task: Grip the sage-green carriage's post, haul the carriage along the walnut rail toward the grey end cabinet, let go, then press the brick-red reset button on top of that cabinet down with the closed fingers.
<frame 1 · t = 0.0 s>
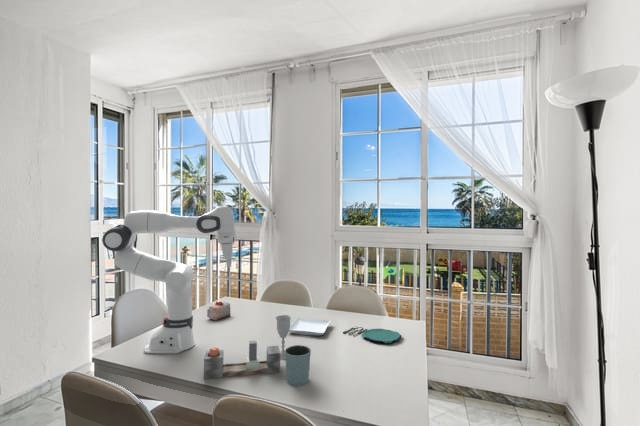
hand: (229, 265, 173), 39 cm above the table, tool pointing down, fingers open, 8 cm apart
cutlery set: (373, 336, 186), on the table
blue-grey cup: (297, 380, 136), on the table
food item: (219, 318, 214), on the table
reset button: (214, 354, 140), point 8 cm above the table, slide at 0.0 cm
carriage: (252, 354, 144), point 7 cm above the table, slide at 4.0 cm
chalice: (282, 357, 157), on the table
salad plate: (309, 330, 194), on the table
rail: (242, 371, 143), on the table
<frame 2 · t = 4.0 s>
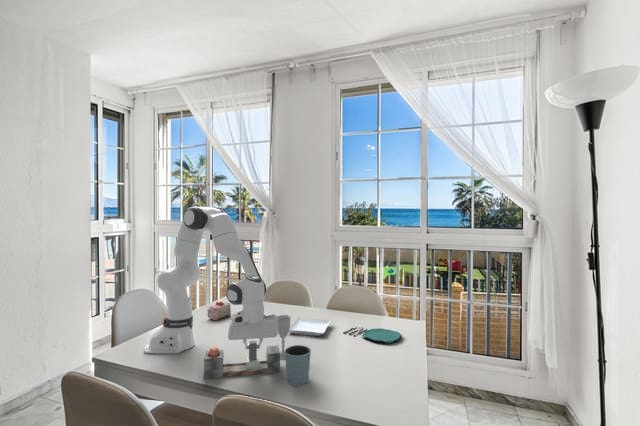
hand: (252, 348, 144), 9 cm above the table, tool pointing down, fingers closed on carriage, 3 cm apart
carriage: (252, 354, 144), point 7 cm above the table, slide at 4.0 cm, touching gripper
everything else where it was.
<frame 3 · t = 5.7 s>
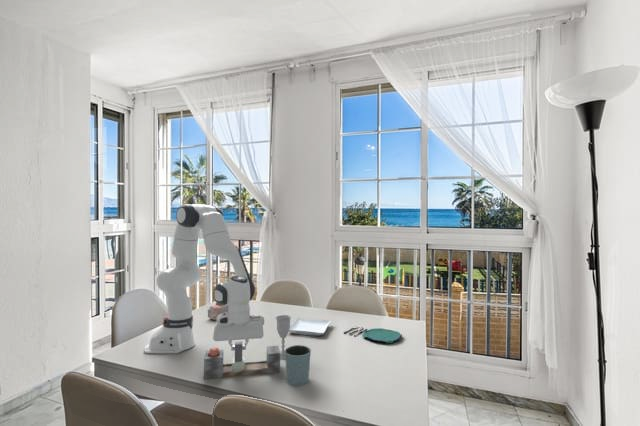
hand: (238, 349, 142), 9 cm above the table, tool pointing down, fingers closed on carriage, 3 cm apart
carriage: (238, 355, 142), point 7 cm above the table, slide at -1.8 cm, touching gripper
everything else where it was.
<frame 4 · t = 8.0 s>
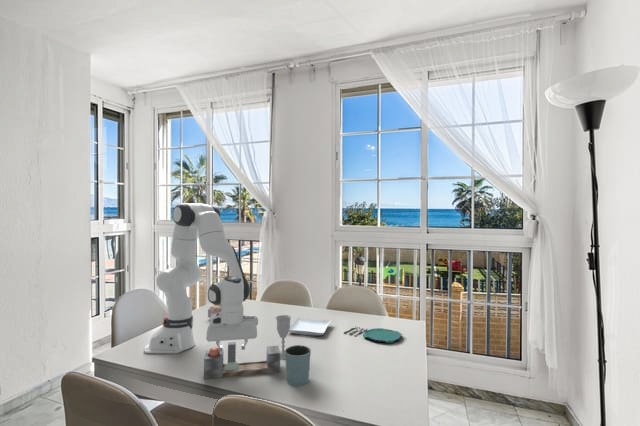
hand: (232, 350, 142), 9 cm above the table, tool pointing down, fingers open, 8 cm apart
reset button: (214, 354, 140), point 8 cm above the table, slide at 0.0 cm, touching gripper
carriage: (231, 355, 142), point 7 cm above the table, slide at -4.5 cm
everything else where it was.
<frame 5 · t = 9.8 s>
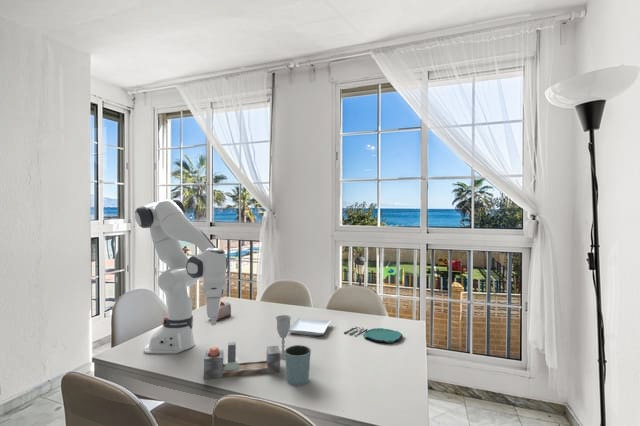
hand: (214, 322, 140), 21 cm above the table, tool pointing down, fingers open, 5 cm apart
reset button: (214, 353, 140), point 8 cm above the table, slide at -0.1 cm
everything else where it was.
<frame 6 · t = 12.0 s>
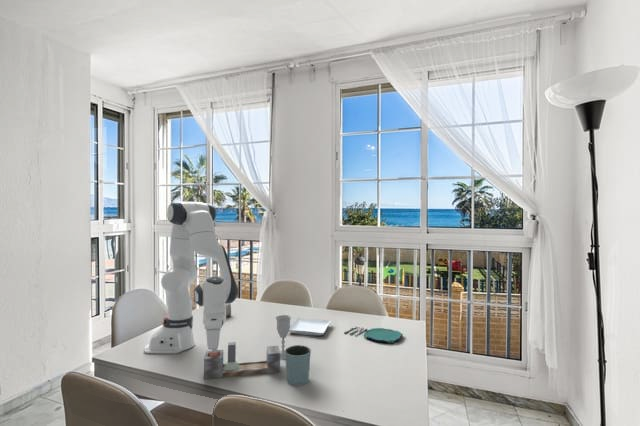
hand: (214, 351, 140), 9 cm above the table, tool pointing down, fingers closed, pressing on reset button
reset button: (214, 356, 140), point 7 cm above the table, slide at 1.2 cm, touching gripper
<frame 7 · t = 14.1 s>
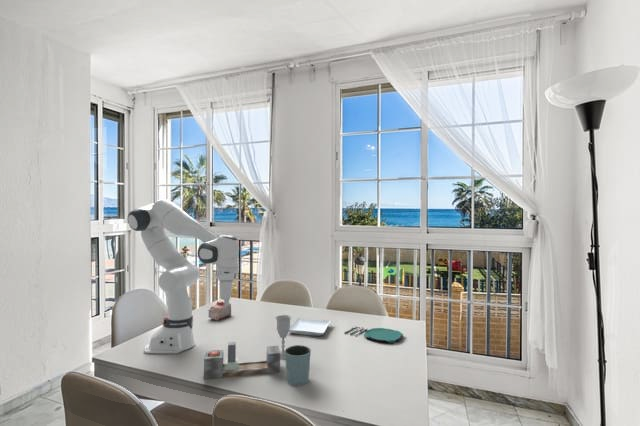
hand: (226, 304, 149), 26 cm above the table, tool pointing down, fingers closed
reset button: (214, 357, 140), point 6 cm above the table, slide at 1.5 cm
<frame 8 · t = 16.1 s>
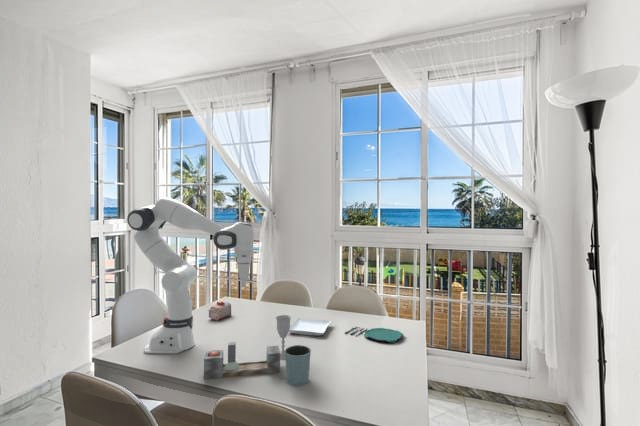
hand: (243, 286, 161), 31 cm above the table, tool pointing down, fingers closed
at the end: carriage slide at -4.5 cm; reset button slide at 1.5 cm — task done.
